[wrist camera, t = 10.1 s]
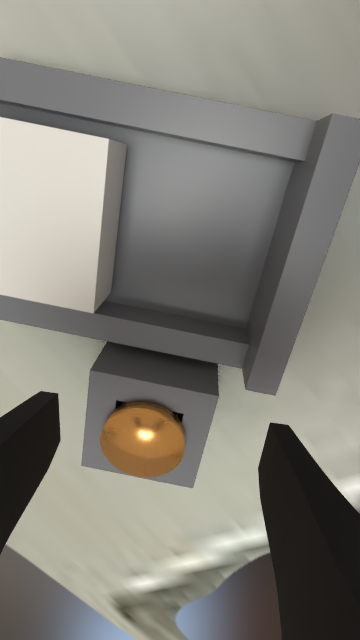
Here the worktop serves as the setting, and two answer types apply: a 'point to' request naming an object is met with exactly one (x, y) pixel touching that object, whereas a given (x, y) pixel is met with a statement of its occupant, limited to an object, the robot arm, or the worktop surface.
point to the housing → (192, 242)
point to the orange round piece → (143, 439)
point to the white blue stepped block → (58, 214)
